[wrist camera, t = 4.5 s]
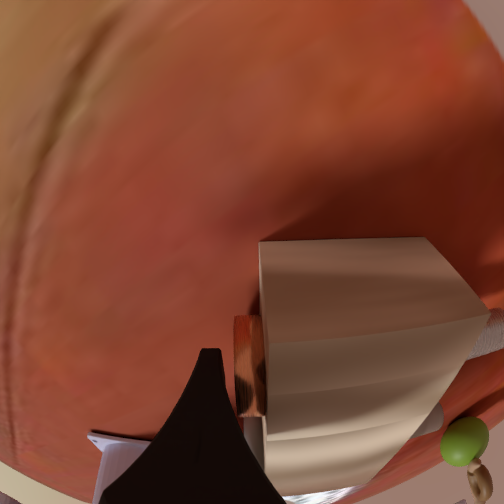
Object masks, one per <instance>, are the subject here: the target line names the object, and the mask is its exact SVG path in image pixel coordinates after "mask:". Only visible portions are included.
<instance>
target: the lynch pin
mask: <svg viewBox="0 0 504 504" xmlns="http://www.w3.org/2000/svg"><path fill="white" fill-rule="evenodd" d="M488 310H489V311H490V312H491V315H490V317H489V319H488V321H487V323H486V325H485V327H484V329H483V331H482V333H481V334H480V336H479V338H478V340H477V342H476V343H475V345H474V347H473V349H472V350H471V352H470V354H469V356H468V357H467V359H466V360H469V359H472V358H476V357H479V356H482V355H485V354H488V353H491V352H494V351H497V350H500V349H502V348H504V310H503V309H501V308H493V309H488ZM234 377H235V394H236V406H237V414H238V417H262V416H266V364H265V348H264V333H263V322H262V315H240V316H234Z"/></svg>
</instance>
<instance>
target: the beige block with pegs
mask: <svg viewBox="0 0 504 504" xmlns="http://www.w3.org/2000/svg"><path fill="white" fill-rule="evenodd" d="M259 289H260V315H262V322H263V333H264V348H265V364H266V416H262V417H244V437H245V439H246V441H247V443H248V445H249V447H250V449H251V451H252V452H253V454H254V456H255V458H256V459H257V461H258V463H259V464H260V466H261V468H262V469H263V471H264V473H265V474H266V476H267V477H268V479H269V480H270V482H271V483H272V484H273V486H274V487H275V489H276V490H277V491H278V493H279V494H280V495H281V497H282V496H293V495H302V494H310V493H318V492H324V491H331V490H336V489H342V488H347V487H352V486H357V485H361V484H366V483H368V482H369V481H370V480H371V479H372V478H373V477H374V476H375V475H376V474H377V473H378V472H379V471H380V470H381V469H382V468H383V467H384V466H385V465H386V464H387V463H388V462H389V460H390V459H391V458H392V457H393V456H394V455H395V454H396V453H397V452H398V451H399V450H400V448H401V447H402V446H403V445H404V444H405V443H406V442H407V440H408V439H411V438H415V437H418V436H421V435H424V434H427V433H431V432H434V431H437V430H439V429H440V428H441V427H442V424H443V421H444V413H443V409H442V406H441V405H440V403H439V402H438V401H439V400H440V398H441V397H442V396H443V394H444V393H445V391H446V390H447V388H448V387H449V385H450V384H451V383H452V381H453V379H454V378H455V376H456V375H457V373H458V372H459V370H460V369H461V367H462V365H463V364H464V362H465V361H466V359H467V357H468V356H469V354H470V352H471V350H472V349H473V347H474V345H475V343H476V342H477V340H478V338H479V336H480V334H481V333H482V331H483V329H484V327H485V325H486V323H487V321H488V319H489V317H490V315H491V312H490V311H489V310H488V308H487V307H486V306H485V304H484V303H483V302H482V301H481V300H480V298H479V297H478V296H477V295H476V293H475V292H474V291H473V290H472V289H471V287H470V286H469V285H468V284H467V283H466V282H465V280H464V279H463V278H462V277H461V276H460V275H459V273H458V272H457V271H456V270H455V269H454V268H453V267H452V266H451V264H450V263H449V262H448V261H447V260H446V259H445V258H444V257H443V256H442V255H441V254H440V253H439V251H438V250H437V249H436V248H435V247H434V246H433V245H432V244H431V243H430V242H429V241H428V240H427V239H426V238H425V237H403V238H364V239H330V240H299V241H269V242H259Z"/></svg>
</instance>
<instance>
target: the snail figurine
mask: <svg viewBox="0 0 504 504" xmlns="http://www.w3.org/2000/svg"><path fill="white" fill-rule="evenodd" d="M488 441H489V431H488V428H487V426H486V424H485V423H484V422H483V421H482V420H481V419H479V418H476V417H464V418H461V419H458V420H457V421H455V422H454V423H452V424H451V425H450V426H449V427H448V428H447V430H446V431H445V433H444V434H443V437H442V439H441V444H440V450H441V455H442V457H443V459H444V460H445V461H446V462H447V463H449V464H450V465H453V466H458V467H460V466H466V465H468V471H467V475H468V480H469V484H470V488H471V492H472V495H473V497H474V503H475V504H485V502H486V501H487V500H488V499H489V498H490V497H491V495H492V492H493V484H492V478H491V476H490V473H489V471H488V469H487V468H486V467H485V466H484V465H482V464H481V460H480V459H479V457H480V456H481V455H482V454H483V452H484V451H485V449H486V447H487V444H488Z"/></svg>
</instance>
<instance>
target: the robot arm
mask: <svg viewBox="0 0 504 504" xmlns="http://www.w3.org/2000/svg"><path fill="white" fill-rule="evenodd" d="M87 437H88V438H89V439H90V440H91V441H92V442H93V443H94V444H95V445H96V446H97V447H98V448H99V449H100V450H101V451H102V452H103V454H102V459H101V463H100V468H99V472H98V477H97V482H96V487H95V492H94V497H93V502H92V504H286V502H285V501H284V499H283V498H282V497H281V495H280V494H279V493H278V491H277V490H276V489H275V487H274V486H273V484H272V483H271V482H270V480H269V479H268V477H267V476H266V474H265V473H264V471H263V469H262V468H261V466H260V464H259V463H258V461H257V459H256V458H255V456H254V454H253V452H252V451H251V449H250V447H249V445H248V443H247V441H246V439H245V437H244V435H243V433H242V431H241V428H240V426H239V424H238V421H237V419H236V417H235V414H234V411H233V409H232V406H231V403H230V400H229V397H228V393H227V390H226V385H225V373H224V367H223V360H222V353H221V350H220V349H219V348H202V349H201V351H200V354H199V357H198V360H197V363H196V365H195V368H194V370H193V372H192V375H191V377H190V379H189V381H188V383H187V385H186V387H185V389H184V391H183V393H182V395H181V397H180V399H179V401H178V402H177V404H176V406H175V408H174V409H173V411H172V413H171V414H170V416H169V418H168V419H167V421H166V422H165V424H164V425H163V427H162V428H161V429H160V431H159V432H158V434H157V435H156V436H155V438H154V439H153V440H152V442H150V441H142V440H134V439H127V438H120V437H114V436H108V435H102V434H97V433H92V432H89V433H88V435H87ZM0 504H21V503H19V502H18V501H17V500H15V499H13V498H11V497H10V496H8V495H6V494H4V493H2V492H1V491H0ZM455 504H467V503H466V500H461V501H459V502H457V503H455Z"/></svg>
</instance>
